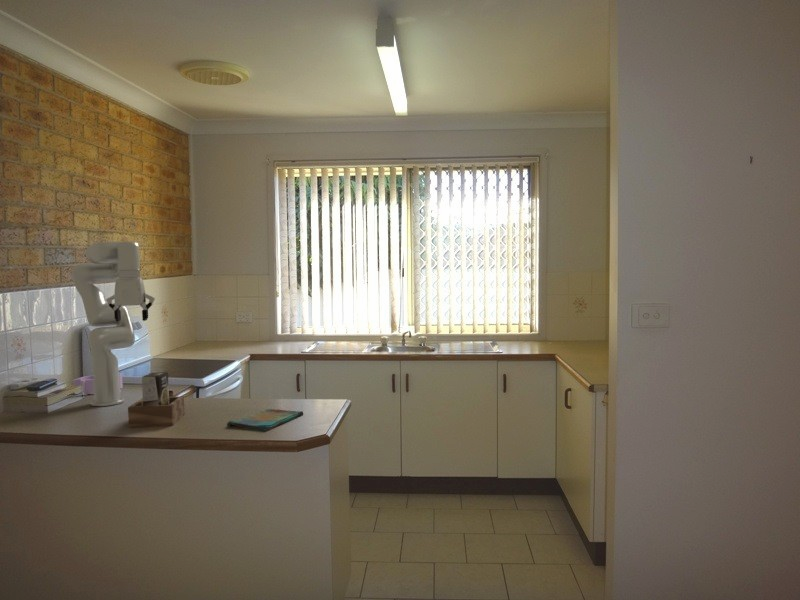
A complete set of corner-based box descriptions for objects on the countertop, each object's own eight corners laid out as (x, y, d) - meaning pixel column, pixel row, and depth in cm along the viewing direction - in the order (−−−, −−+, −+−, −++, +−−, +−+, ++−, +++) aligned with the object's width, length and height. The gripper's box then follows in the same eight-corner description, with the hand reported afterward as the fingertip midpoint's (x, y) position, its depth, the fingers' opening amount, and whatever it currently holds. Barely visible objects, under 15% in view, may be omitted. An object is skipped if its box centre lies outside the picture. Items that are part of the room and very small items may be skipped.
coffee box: (161, 421, 219) (159, 376, 218) (143, 421, 219) (140, 376, 218) (170, 414, 228) (168, 371, 227) (153, 415, 228) (151, 371, 227)
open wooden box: (143, 416, 230) (142, 398, 230) (184, 414, 232) (183, 396, 231) (129, 427, 216) (127, 407, 215) (172, 425, 217) (171, 405, 216)
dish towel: (225, 428, 212) (224, 421, 212) (266, 412, 234) (266, 406, 233) (266, 433, 205) (265, 425, 205) (304, 416, 226) (304, 409, 226)
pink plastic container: (112, 386, 293) (111, 371, 293) (127, 388, 286) (127, 373, 286) (70, 394, 277) (69, 379, 276) (85, 397, 270) (84, 381, 269)
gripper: (101, 275, 225) (103, 322, 226) (149, 274, 226) (152, 321, 227) (109, 275, 232) (111, 320, 233) (156, 274, 233) (158, 319, 235)
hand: (131, 320), depth 230 cm, fingers open, 9 cm apart
